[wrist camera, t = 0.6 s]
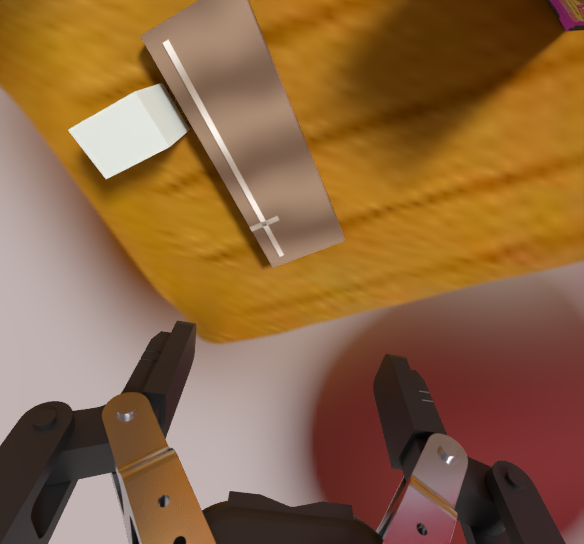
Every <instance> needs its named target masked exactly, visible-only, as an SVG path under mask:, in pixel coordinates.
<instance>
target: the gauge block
mask: <svg viewBox="0 0 584 544" xmlns="http://www.w3.org/2000/svg"><path fill="white" fill-rule="evenodd" d="M189 130H190V129H189V127H188V125H187V124H186V122H185V120H184V119H183V117H182V115H181V113H180V112H179V110H178V108H177V107H176V105H175V103H174V101H173V100H172V98H171V96H170V94H169V93H168V91H167V89H166V88H165V86H164V84H163V83H160V84H157V85H154V86H151V87H148V88H145V89H142V90H138V91H135V92H133V93H132V94H130V95H128V96H126V97H125V98H123V99H121V100H119V101H118V102H116V103H114V104H112V105H111V106H109V107H107V108H105V109H103V110H102V111H100V112H98V113H96V114H95V115H93V116H91V117H89V118H88V119H86V120H84V121H82V122H81V123H79V124H77V125H75V126H74V127H72V128H70V129H68V131H69V132H70V133H71V135H72V136H73V137H74V139H75V140H76V141H77V142H78V144H79V145H80V146H81V148H82V149H83V150H84V152H85V153H86V154H87V155H88V157H89V158H90V159H91V161H92V162H93V163H94V164H95V166H96V167H97V168H98V170H99V171H100V172H101V174H102V175H103V176H104V177H105V179H108V178H110V177H112V176H114V175H116V174H118V173H120V172H122V171H124V170H126V169H128V168H130V167H132V166H133V165H135V164H137V163H139V162H141V161H143V160H145V159H147V158H149V157H151V156H153V155H155V154H157V153H159V152H161V151H163V150H165V149H167V148H169V147H170V146H172V145H173V144H174V143H175V142H176V141H177V140H179V139H180V138H181V137H182V136H183V135H184V134H185V133H187V132H188V131H189Z"/></svg>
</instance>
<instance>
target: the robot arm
mask: <svg viewBox="0 0 584 544" xmlns="http://www.w3.org/2000/svg"><path fill="white" fill-rule="evenodd" d="M195 339H196V323H190V322H183V321H177V322H176V324H175V326H174V328H173V330H172V332H171V333H169V332H162V331H161V332H160V333H159V334H157V335H156V336H155V337H154V338H152V339H151V341H150V342H149V344H148V346H147V348H146V350H145V352H144V353H143V355H142V357H141V360H140V361H139V363H138V365H137V366H136V368H135V370H134V372H133V373H132V375H131V377H130V379H129V381H128V382H127V384H126V386H125V388H124V390H123V391H122V393H121V394H120V395H117V396H116V397H114V398H112V399H111V400H110V401H109V402H108V403H107V404H106V405H104V406H101V407H97V408H91V409H85V410H77V411H72V409H71V407H70V406H69V405H67V404H66V403H63V402H58V401H52V402H46V403H42V404H40V405H37V406H35V407H33V408H32V409H30V410H29V411H27V412H26V413H25V414H24V415H23V416H22V417H21V418H20V419H19V421H18V422H17V424H16V425H15V426H14V428H13V429H12V430H11V432H10V433H9V435H8V436H7V437H6V439H5V440H4V442H3V443H2V444H1V446H0V544H48V542H49V540H50V538H51V536H52V534H53V532H54V530H55V528H56V525H57V523H58V521H59V519H60V517H61V515H62V513H63V511H64V508H65V506H66V504H67V502H68V500H69V498H70V496H71V494H72V492H73V489H74V488H75V485H76V483H77V481H78V479H82V478H87V477H92V476H97V475H101V474H106V473H111V477H112V480H113V484H114V487H115V491H116V494H117V498H118V501H119V505H120V509H121V512H122V516H123V519H124V524H125V528H126V533H127V538H128V542H129V544H450V541H451V537H452V534H453V531H454V527H455V523H456V520H459V521H460V523H461V526H462V530H463V533H464V536H465V539H466V542H467V544H566V543H565V542H564V540H563V538H562V536H561V534H560V532H559V530H558V528H557V527H556V525H555V523H554V521H553V519H552V517H551V515H550V513H549V511H548V509H547V508H546V506H545V504H544V502H543V500H542V498H541V496H540V494H539V493H538V491H537V489H536V487H535V485H534V483H533V482H532V480H531V479H530V477H529V476H528V475H527V474H526V473H525V472H524V471H523V470H522V469H520V468H519V467H517V466H516V465H514V464H512V463H510V462H507V461H497V462H496V463H494V464H493V466H492V467H490V466H488V465H486V464H483V463H481V462H479V461H476V460H474V459H472V458H470V457H468V456H467V455H466V453H465V451H464V449H463V448H462V447H461V446H460V445H459V443H457V442H456V441H455V440H454V439H452V438H450V437H449V436H447V434H446V432H445V429H444V426H443V424H442V422H441V419H440V417H439V414H438V412H437V410H436V407H435V405H434V403H433V400H432V398H431V395H430V394H429V391H428V388H427V386H426V383H425V381H424V380H423V378H422V377H421V376H420V375H419V374H418V372H416V370H411V369H410V367H409V364H408V362H407V359H406V358H405V357H404V356H398V355H393V354H386V355H385V357H384V358H383V361H382V363H381V365H380V368H379V370H378V372H377V374H376V376H375V379H374V383H373V392H374V397H375V401H376V405H377V409H378V414H379V417H380V422H381V426H382V430H383V434H384V438H385V442H386V447H387V451H388V455H389V459H390V463H391V467H392V468H394V469H401V470H403V473H404V478H403V479H402V481H401V483H400V485H399V487H398V489H397V491H396V493H395V495H394V497H393V499H392V502H391V504H390V506H389V508H388V510H387V512H386V514H385V516H384V518H383V520H382V522H381V524H380V525H379V527H378V529H377V531H375V530H374V529H372V528H371V527H370V526H369V525H367V524H366V523H365V522H363V521H361V520H360V519H358V518H356V517H354V516H353V512H352V505H347V504H339V503H329V502H318V503H313V504H308V505H302V506H297V507H289V506H287V505H284V504H282V503H279V502H277V501H274V500H272V499H270V498H267V497H265V496H262V495H260V494H251V493H242V492H234V491H230V492H229V498H228V501H224V502H220V503H217V504H214V505H212V506H210V507H208V508H205V509H204V510H201V508H200V506H199V503H198V501H197V499H196V496H195V495H194V492H193V490H192V487H191V485H190V483H189V481H188V478H187V476H186V474H185V471H184V469H183V467H182V464H181V462H180V460H179V458H178V455H177V453H176V452H175V450H174V449H173V448H171V449H170V448H169V446H168V445H167V442H166V440H165V439H166V436H167V433H168V430H169V428H170V425H171V422H172V419H173V416H174V413H175V411H176V408H177V405H178V402H179V399H180V397H181V394H182V391H183V388H184V386H185V383H186V380H187V377H188V375H189V372H190V369H191V366H192V363H193V359H194V353H195Z"/></svg>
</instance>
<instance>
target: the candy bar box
mask: <svg viewBox="0 0 584 544" xmlns="http://www.w3.org/2000/svg"><path fill="white" fill-rule="evenodd" d="M547 1H548V2H549V4H550V5H551V7H552V9H553V10H554V12H555V13H556V15H557V17H558V18H559V20H560V22H561V23H562V25H563V26H564V28H565V29H566V31H574V30H584V0H547Z"/></svg>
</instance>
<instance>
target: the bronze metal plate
mask: <svg viewBox="0 0 584 544" xmlns="http://www.w3.org/2000/svg"><path fill="white" fill-rule="evenodd" d="M140 37H141V39H142V40H143V42H144V44H145V45H146V47H147V49H148V51H149V52H150V54H151V56H152V58H153V59H154V61H155V63H156V65H157V66H158V68H159V70H160V72H161V73H162V75H163V77H164V79H165V80H166V82H167V84H168V86H169V87H170V89H171V91H172V93H173V94H174V96H175V98H176V100H177V101H178V103H179V105H180V107H181V108H182V110H183V112H184V114H185V115H186V117H187V119H188V121H189V122H190V124H191V126H192V127H193V129H194V131H195V133H196V134H197V136H198V138H199V140H200V141H201V143H202V145H203V147H204V148H205V150H206V152H207V154H208V155H209V157H210V159H211V161H212V162H213V164H214V166H215V168H216V169H217V171H218V173H219V175H220V176H221V178H222V180H223V182H224V183H225V185H226V187H227V189H228V190H229V192H230V194H231V196H232V197H233V199H234V201H235V202H236V204H237V206H238V208H239V209H240V211H241V213H242V215H243V216H244V218H245V220H246V222H247V223H248V225H249V228H250V229H251V231H252V232H253V234H254V236H255V237H256V239H257V241H258V243H259V244H260V246H261V248H262V250H263V251H264V253H265V255H266V257H267V258H268V260H269V262H270V264H271V265H272V267H273V268H274V267H277V266H279V265H282V264H285V263H287V262H290V261H293V260H295V259H298V258H301V257H303V256H306V255H309V254H311V253H314V252H317V251H319V250H322V249H325V248H327V247H330V246H333V245H335V244H338V243H341V242H344V241H345V239H344V235H343V231H342V229H341V226H340V224H339V222H338V219H337V217H336V214H335V212H334V209H333V207H332V204H331V202H330V199H329V197H328V194H327V192H326V189H325V187H324V185H323V182H322V180H321V177H320V175H319V172H318V170H317V167H316V165H315V162H314V160H313V157H312V155H311V153H310V150H309V148H308V145H307V143H306V140H305V138H304V135H303V133H302V130H301V128H300V125H299V123H298V120H297V118H296V116H295V113H294V111H293V108H292V106H291V103H290V101H289V98H288V96H287V93H286V91H285V88H284V86H283V83H282V81H281V79H280V76H279V74H278V71H277V69H276V66H275V64H274V61H273V59H272V56H271V54H270V51H269V49H268V47H267V44H266V42H265V39H264V37H263V34H262V32H261V29H260V27H259V24H258V22H257V19H256V17H255V14H254V12H253V10H252V7H251V5H250V2H249V0H198V1H197V2H195V3H194V4H192V5H190V6H189V7H187V8H185V9H184V10H182V11H181V12H179V13H177V14H176V15H174V16H172V17H171V18H169V19H167V20H166V21H164V22H163V23H161V24H159V25H158V26H156V27H154V28H153V29H151V30H150V31H148V32H146V33H145V34H143V35H141V36H140Z"/></svg>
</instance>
